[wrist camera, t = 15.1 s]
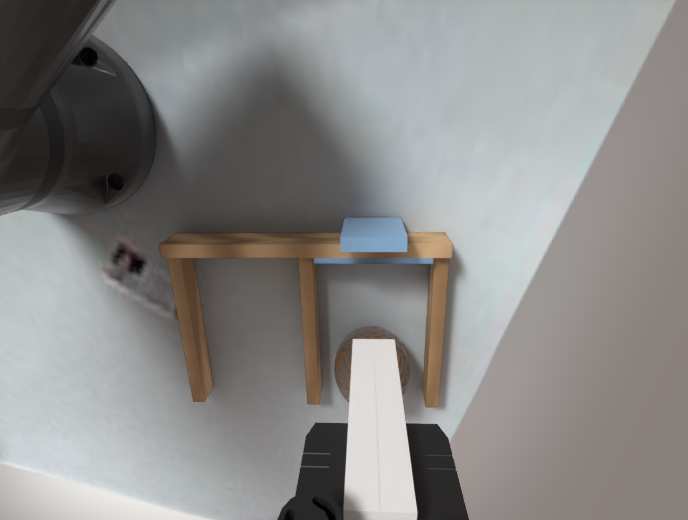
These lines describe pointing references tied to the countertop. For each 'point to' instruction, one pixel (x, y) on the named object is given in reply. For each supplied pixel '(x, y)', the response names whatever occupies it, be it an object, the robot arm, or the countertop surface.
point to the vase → (345, 358)
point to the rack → (309, 252)
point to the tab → (373, 235)
